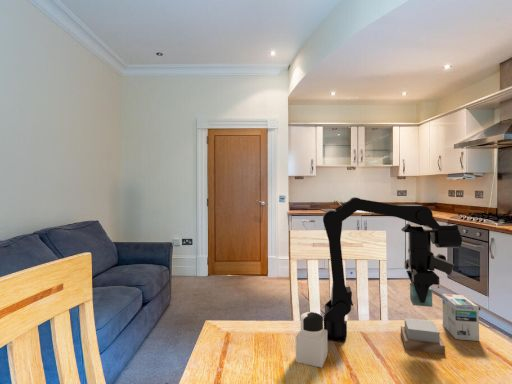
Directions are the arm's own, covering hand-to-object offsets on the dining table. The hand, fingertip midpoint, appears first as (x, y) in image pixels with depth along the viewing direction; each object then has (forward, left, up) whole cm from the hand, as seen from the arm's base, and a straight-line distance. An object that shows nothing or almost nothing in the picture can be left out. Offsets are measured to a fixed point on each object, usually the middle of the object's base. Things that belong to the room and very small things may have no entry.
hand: (420, 299), depth 92 cm
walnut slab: (0, 0, -14) cm, 14 cm away
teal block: (0, 0, -1) cm, 1 cm away
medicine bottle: (-30, -18, -13) cm, 37 cm away
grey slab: (0, +1, -11) cm, 11 cm away
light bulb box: (+13, +11, -13) cm, 22 cm away
